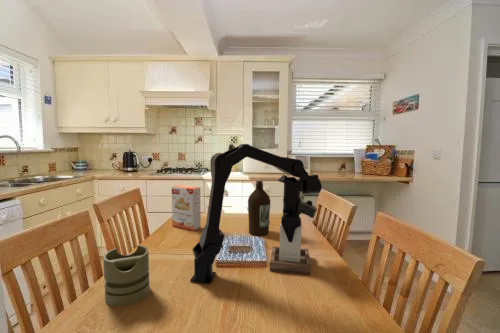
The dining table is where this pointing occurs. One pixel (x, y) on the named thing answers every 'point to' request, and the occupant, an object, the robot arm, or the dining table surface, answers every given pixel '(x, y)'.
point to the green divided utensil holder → (126, 277)
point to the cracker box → (186, 207)
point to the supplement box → (290, 246)
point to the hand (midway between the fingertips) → (290, 238)
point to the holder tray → (290, 263)
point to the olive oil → (259, 211)
